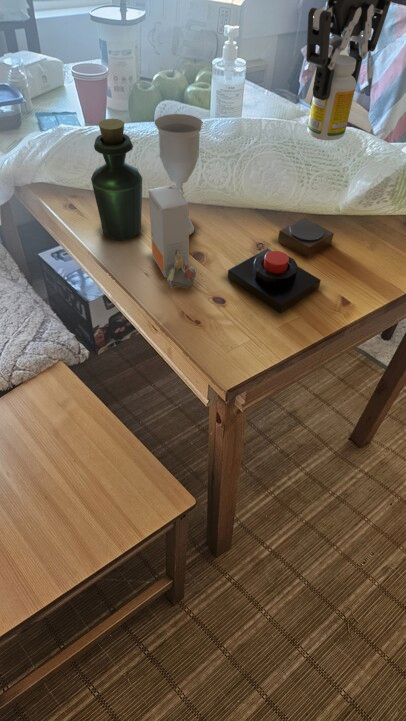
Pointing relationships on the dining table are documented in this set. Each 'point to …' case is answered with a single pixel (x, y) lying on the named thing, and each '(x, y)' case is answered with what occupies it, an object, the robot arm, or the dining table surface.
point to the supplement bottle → (334, 103)
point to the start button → (276, 262)
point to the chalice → (179, 147)
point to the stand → (305, 237)
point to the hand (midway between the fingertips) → (334, 92)
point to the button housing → (273, 282)
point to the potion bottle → (117, 183)
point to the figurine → (180, 273)
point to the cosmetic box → (168, 226)
